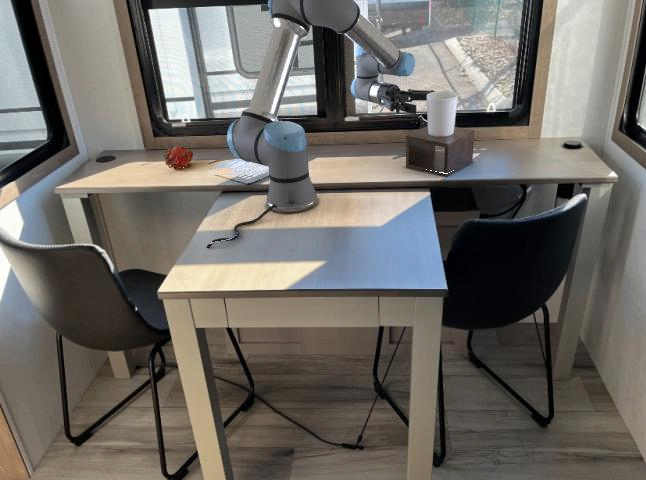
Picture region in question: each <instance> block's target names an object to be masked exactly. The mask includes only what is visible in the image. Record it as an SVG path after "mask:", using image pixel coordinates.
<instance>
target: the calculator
mask: <svg viewBox="0 0 646 480" xmlns="http://www.w3.org/2000/svg"><path fill="white" fill-rule="evenodd" d="M227 167H231V168H233V169H231V170H232V172H234V173H232V172H231V171H230V172H227V174H230V173H231V174H230V175H234V174H235V175H234V176H238V175H239V177H242V176H244V175H247V176H244V177H242V178H246V177H248V176H252V175H253V174H254V175H253V176H252V177H256V176H258V175H262V174H265V173H268V172H269V167H268V166H264V165H260V164H256V163H252V162H246V161H244V160H242V159H239V158H233V159H230V160H228V161H226V162H224V163H221V164H219V165H216V166H214V167H212V168H210V169H209V170H211V169H216V168H218V169H219V168H221V169H222V168H227ZM211 171H212V170H211ZM236 173H238V174H236ZM209 174H210V175H212V176H215V175H214V174H215V173H211V172H209ZM240 174H242V175H240ZM216 175H217V174H216ZM252 177H248V178H246V179H250V178H252ZM267 177H270V175H269V174H267V175H264V176H262V177H260V178H258V179H260V180H262V179H264V178H267ZM260 180H259V181H260Z"/></svg>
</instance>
